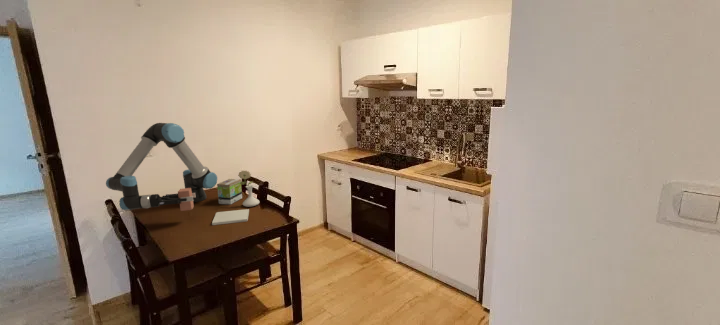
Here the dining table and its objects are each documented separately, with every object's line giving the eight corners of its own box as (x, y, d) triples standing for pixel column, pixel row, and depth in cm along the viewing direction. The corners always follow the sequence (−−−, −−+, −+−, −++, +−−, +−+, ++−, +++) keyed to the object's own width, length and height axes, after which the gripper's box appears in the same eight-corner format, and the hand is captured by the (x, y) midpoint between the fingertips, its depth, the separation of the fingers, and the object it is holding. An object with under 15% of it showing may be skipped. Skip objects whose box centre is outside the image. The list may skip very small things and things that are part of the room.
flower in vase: (262, 202, 235) (259, 168, 230) (255, 208, 224) (252, 172, 219) (244, 202, 237) (241, 168, 231) (237, 207, 225) (233, 172, 220)
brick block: (183, 207, 203) (180, 188, 201) (193, 206, 205) (191, 187, 202) (180, 210, 198) (177, 191, 195) (191, 209, 199) (188, 190, 196)
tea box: (231, 204, 232) (229, 184, 229) (218, 204, 234) (216, 184, 231) (242, 198, 246) (241, 178, 243) (230, 197, 248) (228, 178, 245)
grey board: (216, 214, 214) (216, 212, 214) (249, 211, 219) (249, 209, 219) (212, 225, 197) (211, 222, 197) (247, 221, 202) (247, 219, 202)
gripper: (157, 201, 205) (198, 197, 211) (146, 212, 187) (191, 208, 193) (155, 190, 203) (196, 186, 209) (144, 200, 185) (189, 195, 191)
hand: (194, 196), depth 201 cm, fingers closed on brick block, 6 cm apart
